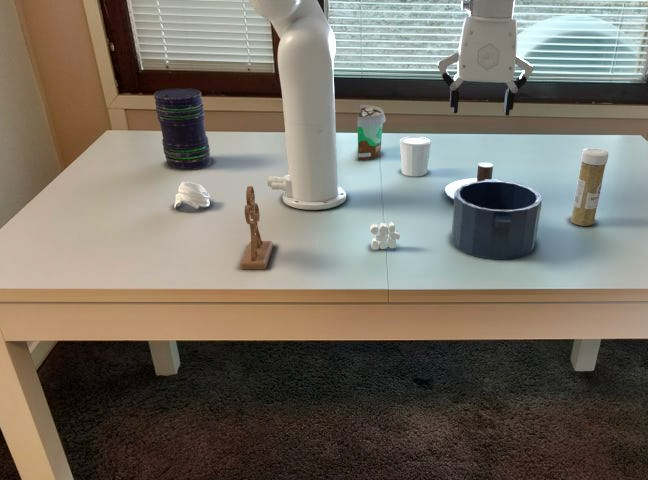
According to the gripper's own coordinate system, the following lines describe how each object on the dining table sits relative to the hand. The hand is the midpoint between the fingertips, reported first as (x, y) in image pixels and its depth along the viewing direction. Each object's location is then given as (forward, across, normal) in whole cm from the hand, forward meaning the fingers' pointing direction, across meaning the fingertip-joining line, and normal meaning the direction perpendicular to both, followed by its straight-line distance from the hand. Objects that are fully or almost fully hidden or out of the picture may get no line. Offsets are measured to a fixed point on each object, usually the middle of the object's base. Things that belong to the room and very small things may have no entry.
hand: (480, 112), depth 121 cm
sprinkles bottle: (+17, +20, -10) cm, 28 cm away
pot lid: (+16, +3, +2) cm, 17 cm away
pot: (+17, +2, -20) cm, 26 cm away
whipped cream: (+18, -55, -6) cm, 58 cm away
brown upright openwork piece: (+18, -38, -28) cm, 50 cm away
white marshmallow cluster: (+18, -17, -23) cm, 34 cm away
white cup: (+18, -11, +17) cm, 27 cm away
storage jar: (+18, -62, +20) cm, 68 cm away
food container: (+18, -21, +29) cm, 40 cm away
